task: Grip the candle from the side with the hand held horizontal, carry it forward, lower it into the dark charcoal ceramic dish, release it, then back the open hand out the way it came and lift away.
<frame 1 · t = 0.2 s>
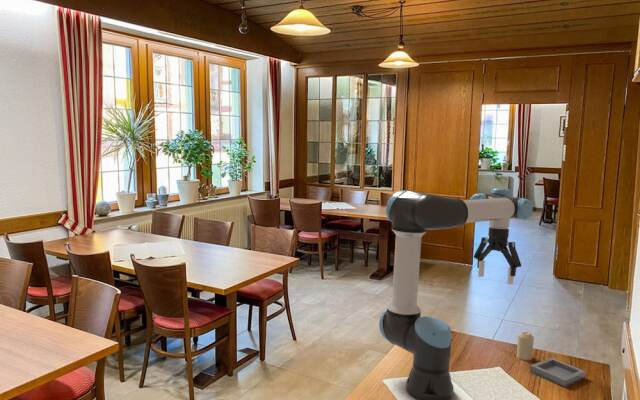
hand: (495, 280, 193), 27 cm above the table, tool pointing down, fingers open, 13 cm apart
charcoal dish: (557, 375, 173), on the table
candle: (524, 358, 187), on the table
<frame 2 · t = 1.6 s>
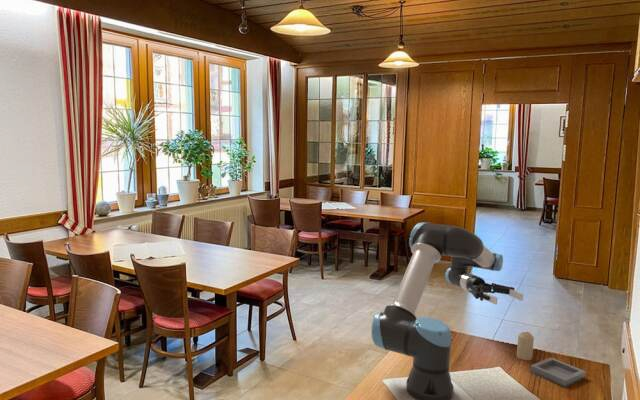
hand: (509, 299, 193), 20 cm above the table, tool horizontal, fingers open, 13 cm apart
nothing on the table moved.
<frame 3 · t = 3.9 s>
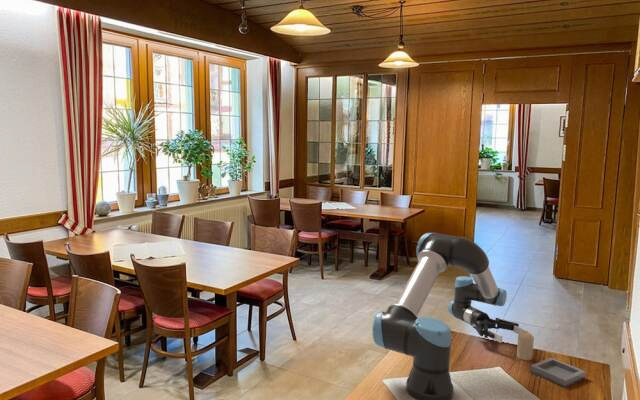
hand: (514, 337, 191), 6 cm above the table, tool horizontal, fingers open, 13 cm apart
nothing on the table moved.
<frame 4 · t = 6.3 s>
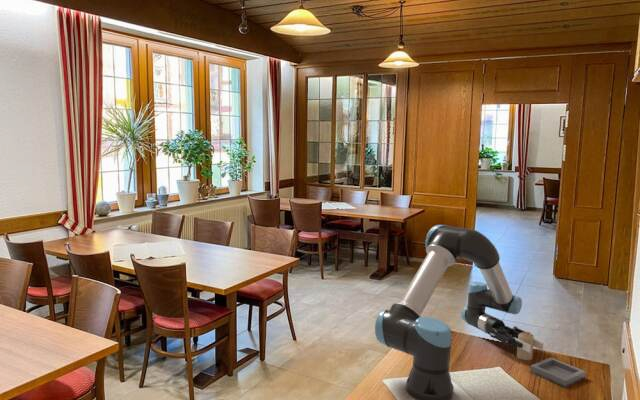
hand: (536, 347, 181), 6 cm above the table, tool horizontal, fingers closed on candle, 5 cm apart
candle: (524, 357, 187), on the table, touching gripper
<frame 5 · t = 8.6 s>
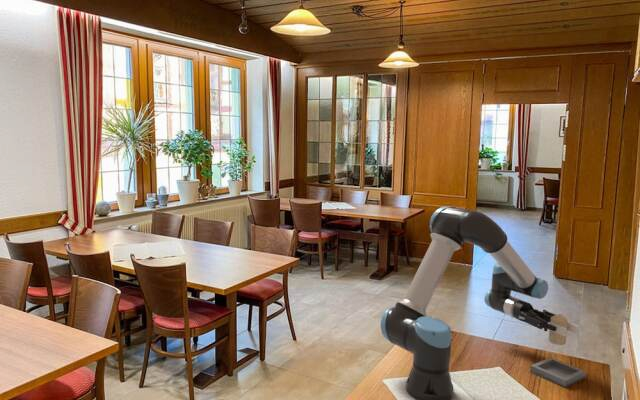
hand: (571, 331, 168), 18 cm above the table, tool horizontal, fingers closed on candle, 5 cm apart
candle: (556, 342, 173), point 11 cm above the table, touching gripper
when the fingers open (8 cm above the table, at t = 10.9 s): candle drops 1 cm, resting on charcoal dish.
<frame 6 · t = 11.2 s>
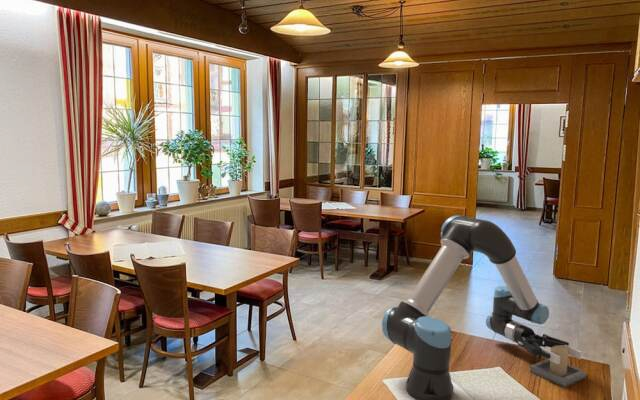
hand: (570, 358, 168), 8 cm above the table, tool horizontal, fingers open, 10 cm apart
candle: (557, 373, 173), point 1 cm above the table, touching charcoal dish
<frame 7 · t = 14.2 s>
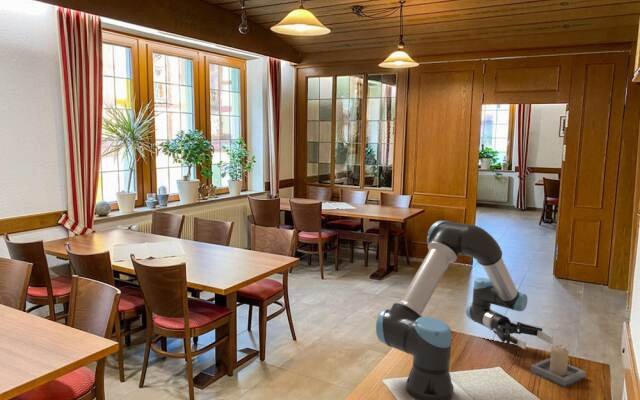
hand: (538, 342, 180), 8 cm above the table, tool horizontal, fingers open, 13 cm apart
nothing on the table moved.
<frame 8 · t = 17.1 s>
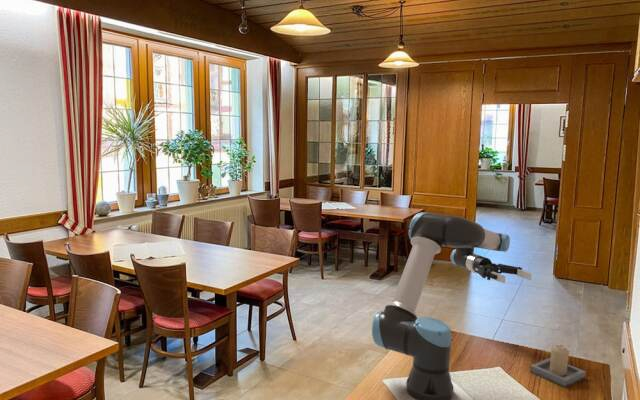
hand: (517, 278, 188), 30 cm above the table, tool horizontal, fingers open, 13 cm apart
nothing on the table moved.
at the end: candle 0.2 cm off-centre on the charcoal dish, point 0.6 cm above the charcoal dish's base; candle tilted 0°; the gripper is holding nothing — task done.
